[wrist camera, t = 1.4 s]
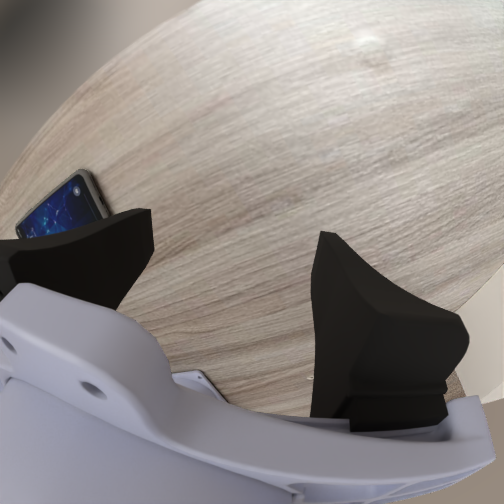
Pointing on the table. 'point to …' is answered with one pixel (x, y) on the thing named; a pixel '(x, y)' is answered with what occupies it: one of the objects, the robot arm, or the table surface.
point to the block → (484, 341)
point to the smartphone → (64, 208)
